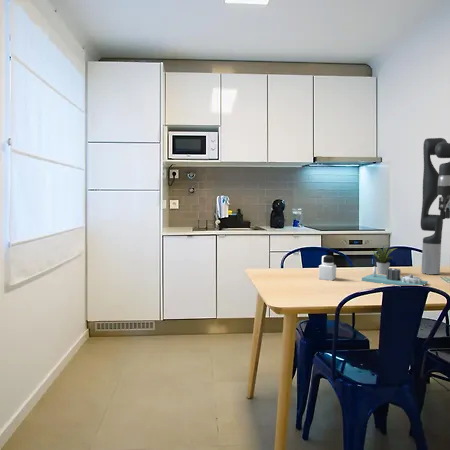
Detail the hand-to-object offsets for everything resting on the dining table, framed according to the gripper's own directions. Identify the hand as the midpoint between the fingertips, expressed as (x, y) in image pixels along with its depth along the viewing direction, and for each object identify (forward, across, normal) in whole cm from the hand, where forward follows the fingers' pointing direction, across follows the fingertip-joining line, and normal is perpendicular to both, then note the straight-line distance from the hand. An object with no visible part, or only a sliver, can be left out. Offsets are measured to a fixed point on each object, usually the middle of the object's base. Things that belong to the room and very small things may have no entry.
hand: (445, 218), depth 196 cm
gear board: (+32, +11, -19) cm, 39 cm away
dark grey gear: (+31, +11, -19) cm, 38 cm away
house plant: (+33, -10, -32) cm, 47 cm away
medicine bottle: (+32, +27, -47) cm, 63 cm away
